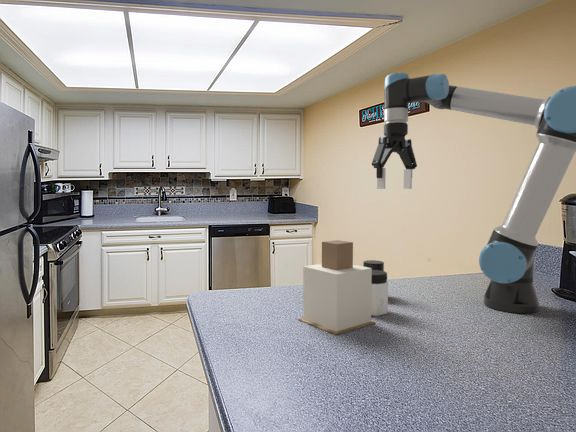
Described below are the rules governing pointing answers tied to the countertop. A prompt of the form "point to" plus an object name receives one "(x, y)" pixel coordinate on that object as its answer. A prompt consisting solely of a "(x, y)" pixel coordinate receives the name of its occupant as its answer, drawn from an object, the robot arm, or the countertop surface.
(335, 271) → the cover
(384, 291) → the jar
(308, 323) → the plate
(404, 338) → the countertop surface
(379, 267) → the ink bottle
